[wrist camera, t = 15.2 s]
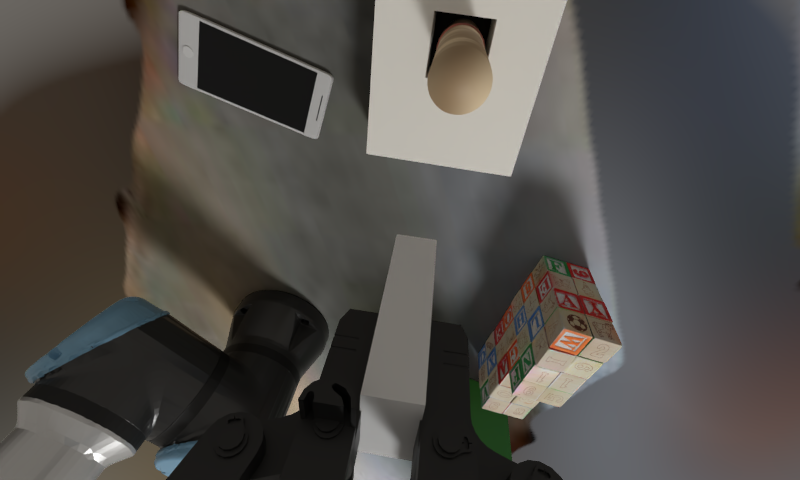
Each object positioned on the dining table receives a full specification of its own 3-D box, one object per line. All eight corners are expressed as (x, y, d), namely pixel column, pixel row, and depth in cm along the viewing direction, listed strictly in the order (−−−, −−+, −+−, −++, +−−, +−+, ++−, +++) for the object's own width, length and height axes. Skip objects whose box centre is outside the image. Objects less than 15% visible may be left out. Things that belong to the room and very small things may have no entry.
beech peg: (436, 60, 35) (421, 111, 22) (443, 13, 32) (431, 39, 19) (476, 66, 34) (485, 121, 22) (486, 19, 32) (502, 49, 19)
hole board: (376, 135, 40) (366, 153, 36) (394, -121, 28) (383, -137, 24) (505, 155, 39) (510, 176, 35) (581, -98, 27) (602, -111, 23)
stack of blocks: (514, 363, 59) (525, 442, 49) (477, 353, 58) (480, 430, 48) (589, 267, 46) (624, 347, 36) (542, 253, 46) (565, 330, 36)
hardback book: (450, 433, 73) (446, 596, 54) (418, 420, 72) (402, 582, 53) (505, 394, 63) (524, 577, 44) (468, 377, 62) (471, 559, 43)
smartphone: (183, 7, 35) (177, 8, 34) (335, 74, 37) (332, 76, 36) (183, 80, 39) (177, 82, 39) (319, 137, 41) (316, 141, 40)
